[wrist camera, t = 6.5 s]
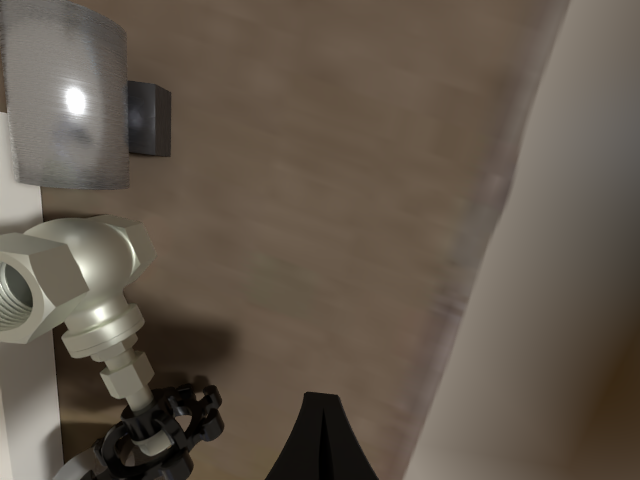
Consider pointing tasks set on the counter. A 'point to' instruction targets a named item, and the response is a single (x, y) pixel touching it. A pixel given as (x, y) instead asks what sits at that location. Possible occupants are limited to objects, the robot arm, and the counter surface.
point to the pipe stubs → (76, 116)
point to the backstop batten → (26, 356)
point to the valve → (103, 334)
